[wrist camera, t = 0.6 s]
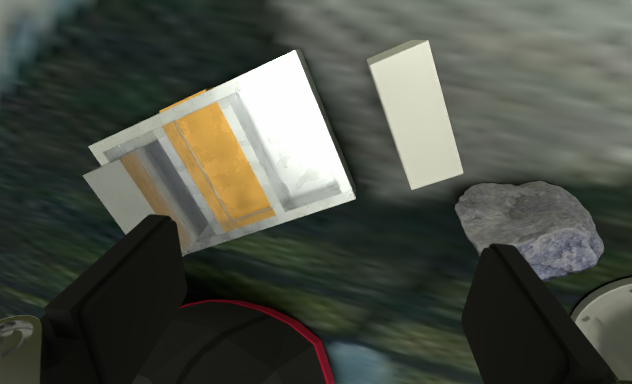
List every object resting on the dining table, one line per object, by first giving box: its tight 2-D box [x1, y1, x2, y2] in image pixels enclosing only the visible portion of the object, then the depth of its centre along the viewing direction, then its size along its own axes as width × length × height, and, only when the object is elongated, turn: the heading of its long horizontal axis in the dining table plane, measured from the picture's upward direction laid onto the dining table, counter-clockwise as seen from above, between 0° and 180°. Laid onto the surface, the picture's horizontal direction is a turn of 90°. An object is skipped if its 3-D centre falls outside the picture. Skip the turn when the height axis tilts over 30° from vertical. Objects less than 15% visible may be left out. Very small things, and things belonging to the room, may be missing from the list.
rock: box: [455, 181, 604, 281], centre depth 29 cm, size 10×6×10 cm, turn 113°
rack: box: [83, 49, 356, 256], centre depth 31 cm, size 22×14×8 cm, turn 113°
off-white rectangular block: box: [366, 40, 463, 190], centre depth 27 cm, size 4×10×7 cm, turn 23°
